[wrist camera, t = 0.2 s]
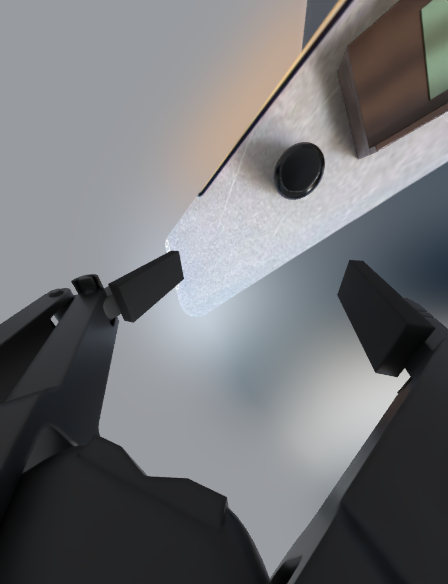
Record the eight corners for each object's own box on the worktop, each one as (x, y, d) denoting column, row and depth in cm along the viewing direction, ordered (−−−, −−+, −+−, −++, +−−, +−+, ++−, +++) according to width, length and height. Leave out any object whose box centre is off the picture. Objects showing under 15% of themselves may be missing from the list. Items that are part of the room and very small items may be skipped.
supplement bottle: (305, 201, 32) (314, 206, 23) (271, 193, 34) (264, 195, 24) (323, 156, 29) (343, 139, 19) (283, 149, 30) (282, 129, 20)
